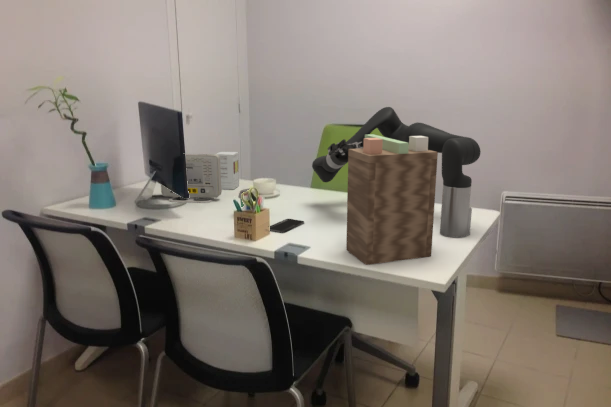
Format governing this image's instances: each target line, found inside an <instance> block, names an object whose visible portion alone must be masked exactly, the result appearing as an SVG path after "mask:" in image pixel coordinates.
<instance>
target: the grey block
mask: <svg viewBox="0 0 611 407" xmlns="http://www.w3.org/2000/svg"><path fill="white" fill-rule="evenodd" d="M409 150H412V151H428V137H425V136H409Z"/></svg>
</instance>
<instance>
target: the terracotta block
mask: <svg viewBox="0 0 611 407" xmlns="http://www.w3.org/2000/svg"><path fill="white" fill-rule="evenodd" d="M382 145H383V139H379V138H364V145H363V152H364V153H368V154H381V153H382Z"/></svg>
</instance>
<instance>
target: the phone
mask: <svg viewBox="0 0 611 407" xmlns="http://www.w3.org/2000/svg"><path fill="white" fill-rule="evenodd" d="M304 224H305V221H304V220H300V219H293V218H285V219H283V220H281V221H277V223H273V224H271V225H269V226H270V231H269V232H272V233H278V234H285V233H288V232H289V231H292V230H294V229H296V228H299V227H300V226H302V225H304Z"/></svg>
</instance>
